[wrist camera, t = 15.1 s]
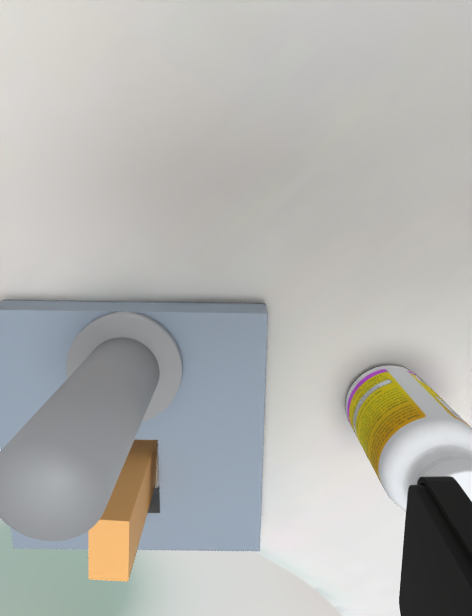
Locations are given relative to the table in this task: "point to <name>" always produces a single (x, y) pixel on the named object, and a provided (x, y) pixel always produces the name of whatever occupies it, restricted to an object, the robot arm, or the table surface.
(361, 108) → the table surface
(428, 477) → the robot arm
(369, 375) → the supplement bottle
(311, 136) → the table surface
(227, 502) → the grey base with post
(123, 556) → the orange rectangular block
